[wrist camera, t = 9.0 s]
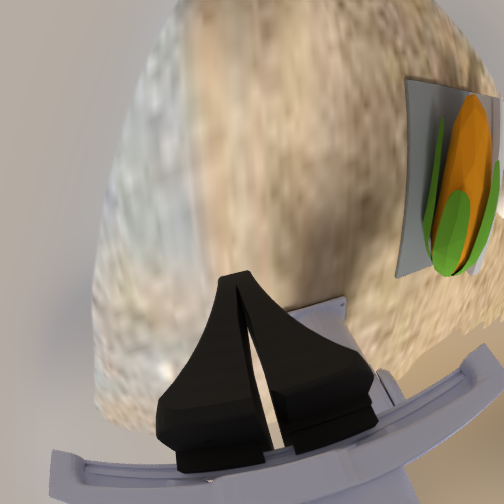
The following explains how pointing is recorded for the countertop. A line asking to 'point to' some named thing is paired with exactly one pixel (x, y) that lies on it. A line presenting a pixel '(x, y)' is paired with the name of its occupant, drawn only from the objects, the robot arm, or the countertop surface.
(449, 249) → the toy fruit
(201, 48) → the countertop surface
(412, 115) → the bracket
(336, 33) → the countertop surface
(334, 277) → the countertop surface
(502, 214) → the white glossy round part
